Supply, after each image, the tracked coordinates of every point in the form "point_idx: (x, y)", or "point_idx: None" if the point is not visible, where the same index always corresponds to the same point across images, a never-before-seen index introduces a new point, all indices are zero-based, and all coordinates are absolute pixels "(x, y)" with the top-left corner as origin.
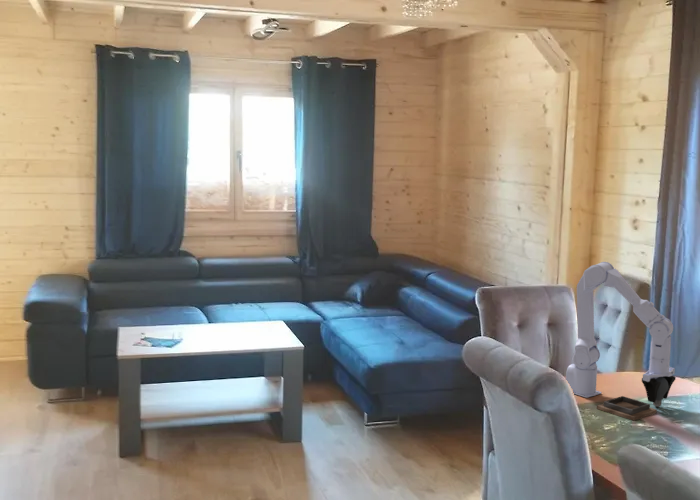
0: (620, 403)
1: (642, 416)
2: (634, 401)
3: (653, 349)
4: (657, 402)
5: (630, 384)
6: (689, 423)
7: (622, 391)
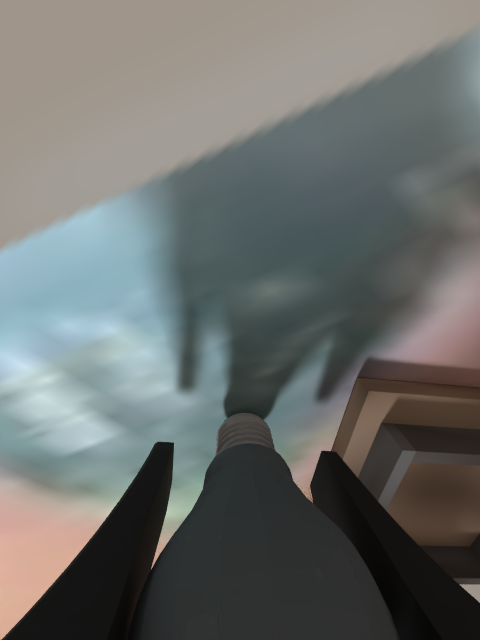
0: None
1: None
2: None
3: None
4: (271, 442)
5: (5, 617)
6: (474, 85)
7: None
